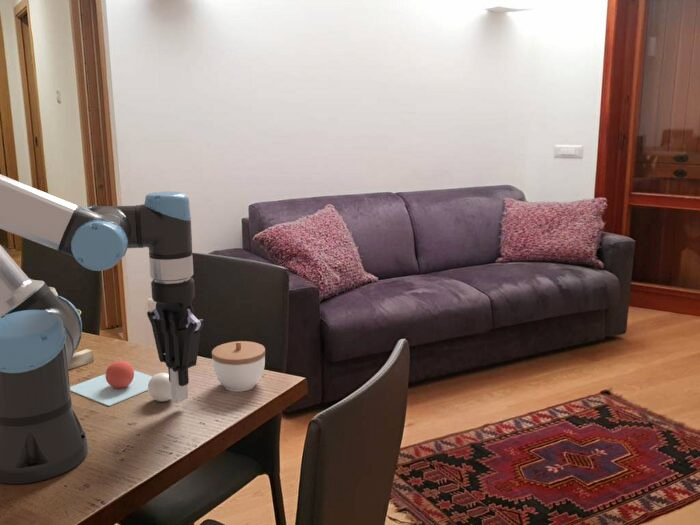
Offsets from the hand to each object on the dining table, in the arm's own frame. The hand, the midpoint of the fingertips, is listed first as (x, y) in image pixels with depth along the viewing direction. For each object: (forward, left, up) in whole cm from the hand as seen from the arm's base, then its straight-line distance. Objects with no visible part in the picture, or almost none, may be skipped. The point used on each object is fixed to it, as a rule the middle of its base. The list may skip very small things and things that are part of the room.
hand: (180, 399), depth 125 cm
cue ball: (+2, +6, +1) cm, 6 cm away
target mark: (+3, +19, -2) cm, 19 cm away
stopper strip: (+6, +35, -2) cm, 36 cm away
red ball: (+3, +17, +1) cm, 18 cm away
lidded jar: (+14, -4, -2) cm, 15 cm away
